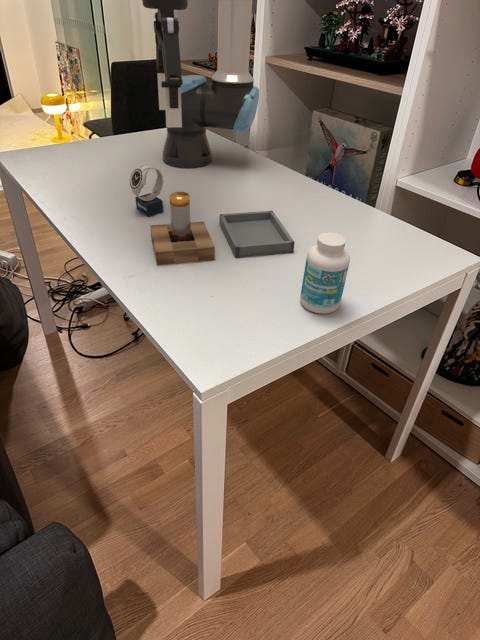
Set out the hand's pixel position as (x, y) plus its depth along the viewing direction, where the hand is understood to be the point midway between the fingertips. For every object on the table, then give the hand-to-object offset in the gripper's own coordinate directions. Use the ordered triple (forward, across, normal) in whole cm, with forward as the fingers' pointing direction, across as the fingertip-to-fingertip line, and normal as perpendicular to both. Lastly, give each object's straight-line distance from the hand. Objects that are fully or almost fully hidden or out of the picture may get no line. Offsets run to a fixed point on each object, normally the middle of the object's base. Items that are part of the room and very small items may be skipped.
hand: (169, 117), depth 88 cm
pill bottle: (+26, +29, +23) cm, 46 cm away
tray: (+25, +2, +18) cm, 31 cm away
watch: (+25, -15, -4) cm, 30 cm away
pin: (+26, +5, +1) cm, 26 cm away
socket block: (+26, +5, +1) cm, 26 cm away
